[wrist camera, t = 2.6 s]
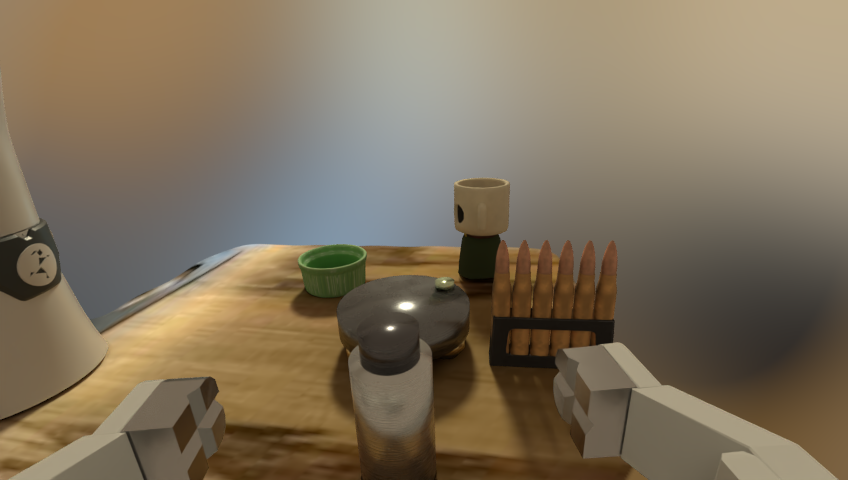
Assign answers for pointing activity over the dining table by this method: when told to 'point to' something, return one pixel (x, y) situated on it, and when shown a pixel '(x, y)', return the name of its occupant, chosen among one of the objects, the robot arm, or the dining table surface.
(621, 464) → the dining table surface
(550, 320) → the ammunition clip
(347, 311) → the grey lid
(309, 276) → the ramekin
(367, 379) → the clear bottle
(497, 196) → the character mug
